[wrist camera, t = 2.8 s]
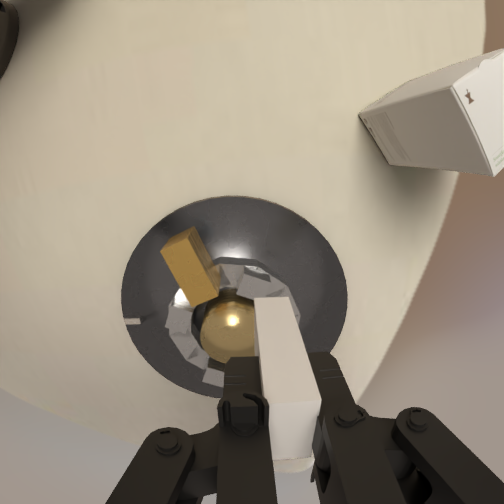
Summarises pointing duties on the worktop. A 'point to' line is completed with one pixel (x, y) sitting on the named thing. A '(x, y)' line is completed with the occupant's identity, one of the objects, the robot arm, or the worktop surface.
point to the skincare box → (445, 118)
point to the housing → (228, 302)
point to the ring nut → (211, 293)
